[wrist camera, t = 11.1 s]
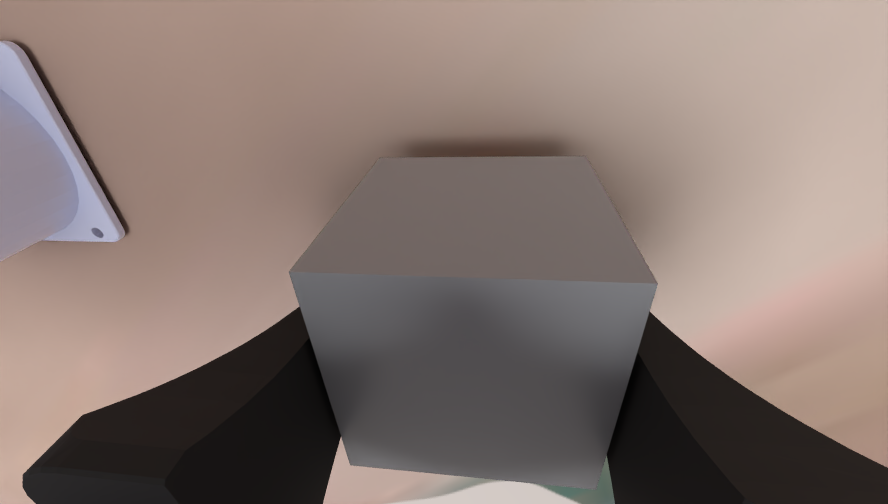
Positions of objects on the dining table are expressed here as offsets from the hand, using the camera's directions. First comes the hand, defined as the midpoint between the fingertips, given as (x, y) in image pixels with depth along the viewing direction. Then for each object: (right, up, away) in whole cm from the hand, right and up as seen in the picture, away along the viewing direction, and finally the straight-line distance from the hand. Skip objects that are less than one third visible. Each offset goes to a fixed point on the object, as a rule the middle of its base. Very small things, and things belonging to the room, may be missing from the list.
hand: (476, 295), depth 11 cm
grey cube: (0, +2, +1) cm, 2 cm away
